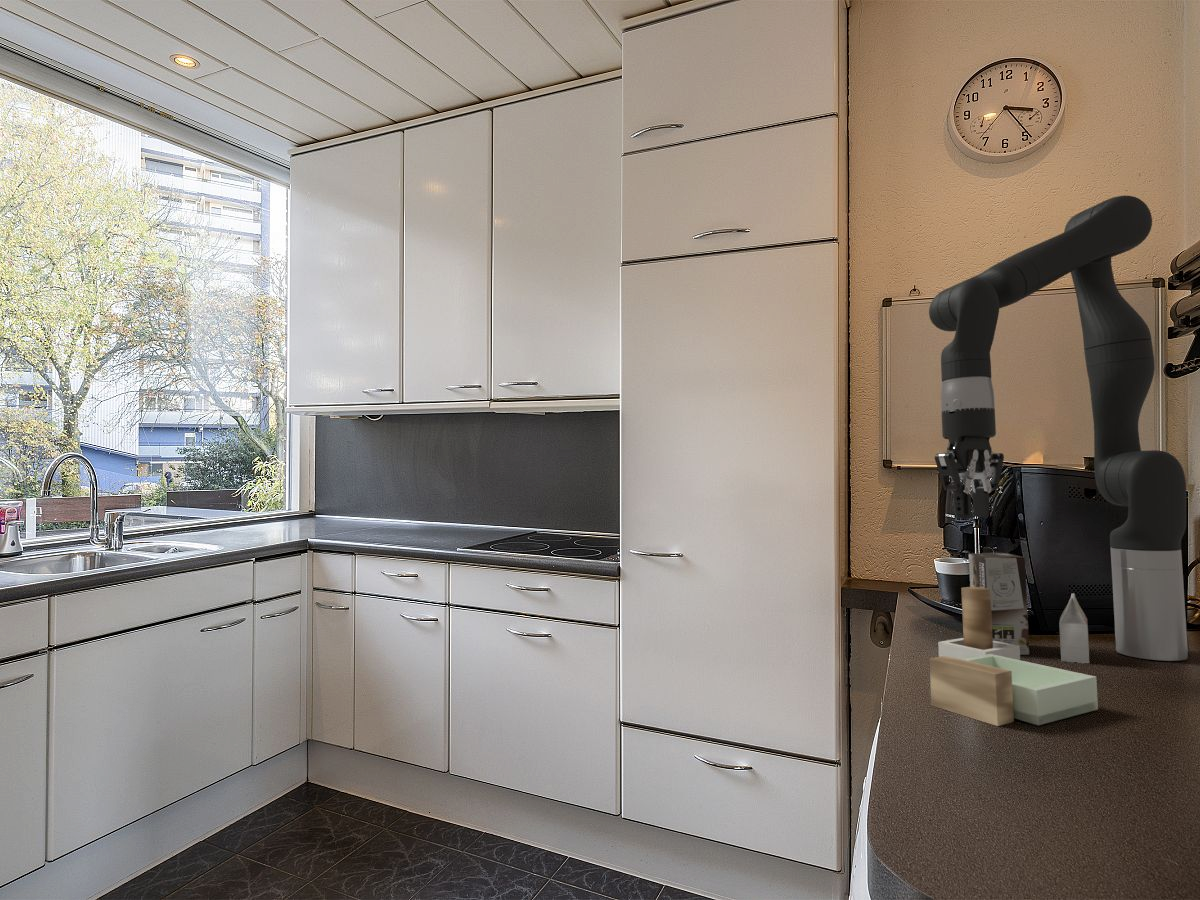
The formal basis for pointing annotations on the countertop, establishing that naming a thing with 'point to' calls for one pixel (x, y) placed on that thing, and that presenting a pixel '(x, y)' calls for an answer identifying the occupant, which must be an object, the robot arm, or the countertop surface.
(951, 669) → the rectangular wooden block
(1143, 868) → the countertop surface
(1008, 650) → the socket block
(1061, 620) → the white gable carton
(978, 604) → the dowel
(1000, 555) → the coffee box
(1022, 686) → the tray
